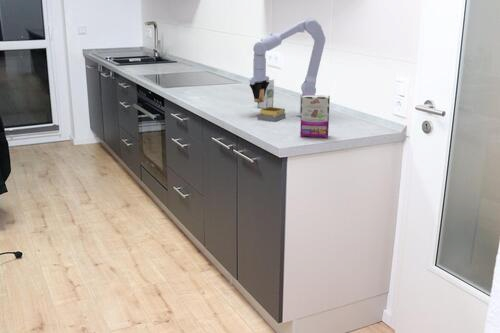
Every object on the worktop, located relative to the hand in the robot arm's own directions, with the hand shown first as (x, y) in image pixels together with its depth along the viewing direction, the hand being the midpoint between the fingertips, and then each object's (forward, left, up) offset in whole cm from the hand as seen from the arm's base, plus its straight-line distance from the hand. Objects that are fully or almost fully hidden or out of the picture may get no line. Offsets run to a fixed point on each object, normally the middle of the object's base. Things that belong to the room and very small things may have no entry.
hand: (259, 97), depth 263 cm
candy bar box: (-39, +23, -8) cm, 46 cm away
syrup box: (+6, -17, -8) cm, 20 cm away
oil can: (0, 0, -2) cm, 2 cm away
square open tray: (-9, +4, -8) cm, 13 cm away
